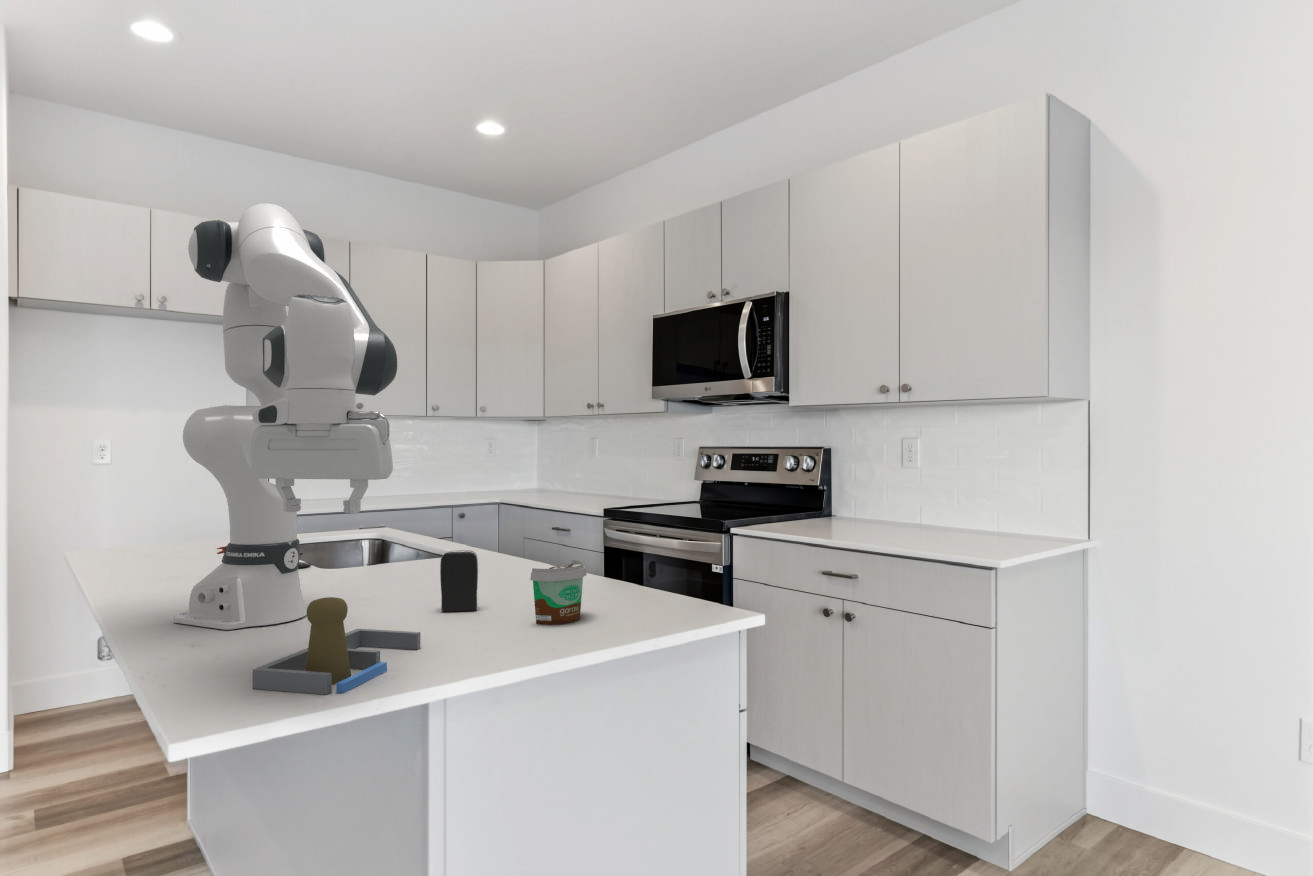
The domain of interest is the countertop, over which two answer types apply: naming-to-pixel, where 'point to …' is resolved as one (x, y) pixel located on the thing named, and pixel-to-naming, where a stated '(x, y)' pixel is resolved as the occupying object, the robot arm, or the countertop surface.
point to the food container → (558, 593)
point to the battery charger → (459, 581)
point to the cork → (328, 638)
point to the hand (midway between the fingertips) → (321, 512)
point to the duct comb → (294, 678)
